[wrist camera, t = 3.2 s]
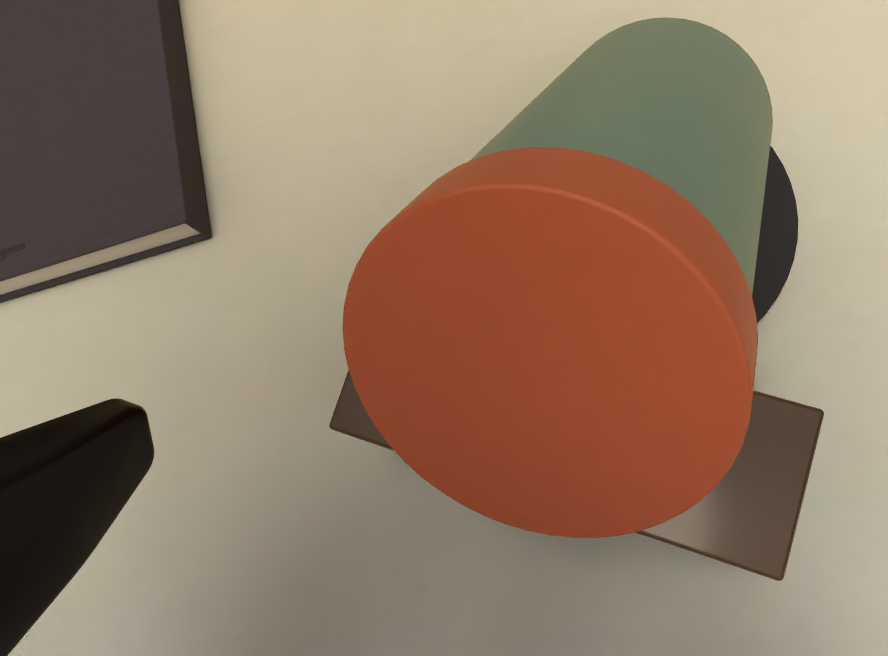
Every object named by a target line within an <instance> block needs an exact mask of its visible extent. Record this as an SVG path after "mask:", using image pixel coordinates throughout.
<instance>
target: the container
mask: <svg viewBox="0 0 888 656" xmlns="http://www.w3.org/2000/svg"><path fill="white" fill-rule="evenodd" d="M772 124H773V122H772V106H771V101H770V96H769V92H768V89H767V86H766V83H765V81H764V79H763V77H762V75H761V73H760V71H759V69H758V67H757V66H756V64H755V63H754V62H753V60H752V59H751V57H750V56H749V55H748V54H747V53H746V52H745V51H744V50H743V49H742V48H741V47H740V46H739V45H738V44H737V43H736V42H735V41H733V40H732V39H731V38H729V37H728V36H727V35H725V34H723V33H721V32H720V31H718V30H716V29H714V28H712V27H709V26H707V25H704V24H701V23H699V22H695V21H690V20H686V19H678V18H652V19H647V20H642V21H637V22H634V23H631V24H628V25H625V26H622V27H620V28H618V29H616V30H614V31H612V32H610V33H608V34H607V35H605V36H604V37H602V38H601V39H599V40H598V41H596V42H595V43H594V44H593V45H592V46H590V47H589V48H588V49H587V50H586V51H585V52H584V53H583V54H582V55H581V56H579V57H578V58H577V59H576V60H575V61H574V62H573V63H572V64H571V65H570V66H569V67H568V68H567V69H566V70H565V71H564V72H563V73H562V74H561V75H559V76H558V77H557V78H556V79H555V80H554V81H553V82H552V83H551V84H550V85H549V86H548V87H547V88H546V89H545V90H544V91H543V92H542V93H541V94H539V95H538V96H537V97H536V98H535V99H534V100H533V101H532V102H531V103H530V104H529V105H528V106H527V107H526V108H525V109H524V110H523V111H522V112H521V113H519V114H518V115H517V116H516V117H515V118H514V119H513V120H512V121H511V122H510V123H509V124H508V125H507V126H506V127H505V128H504V129H503V130H502V131H501V132H499V133H498V134H497V135H496V136H495V137H494V138H493V139H492V140H491V141H490V142H489V143H488V144H487V145H486V146H485V147H484V148H483V149H482V150H481V151H479V152H478V153H477V154H476V155H475V156H474V157H473V158H472V159H471V160H470V161H469V162H467V163H465V164H462V165H460V166H458V167H456V168H454V169H453V170H451V171H449V172H448V173H446V174H445V175H443V176H441V177H440V178H438V179H437V180H436V181H435V182H433V183H432V184H431V185H430V186H429V187H428V188H426V189H425V190H424V191H423V192H422V193H421V194H420V195H418V196H417V197H416V198H415V199H414V200H413V201H412V202H411V203H410V204H409V205H408V206H406V207H405V208H404V209H403V210H402V211H401V212H400V213H399V214H398V215H397V216H396V217H394V218H393V219H392V220H391V221H390V222H389V223H388V224H387V225H386V226H385V227H383V228H382V229H381V231H380V232H379V233H378V234H377V235H376V236H375V238H374V239H373V240H372V241H371V242H370V244H369V245H368V246H367V248H366V249H365V251H364V253H363V254H362V256H361V258H360V260H359V261H358V263H357V265H356V267H355V270H354V272H353V275H352V277H351V280H350V283H349V286H348V290H347V295H346V300H345V304H344V314H343V339H344V350H345V355H346V359H347V364H348V369H349V372H350V375H351V378H352V381H353V383H354V386H355V389H356V391H357V394H358V396H359V398H360V400H361V402H362V404H363V406H364V408H365V410H366V412H367V413H368V415H369V417H370V418H371V420H372V421H373V423H374V425H375V426H376V428H377V429H378V431H379V432H380V433H381V434H382V436H383V437H384V438H385V440H386V441H387V442H388V444H389V445H390V446H391V447H392V448H393V449H394V450H395V452H396V453H397V454H398V455H399V456H400V457H401V458H402V459H403V460H404V461H405V462H406V463H407V464H408V465H409V466H410V467H411V468H412V469H413V470H415V471H416V472H417V473H418V474H419V475H420V476H421V477H422V478H424V479H425V480H426V481H428V482H429V483H430V484H432V485H433V486H434V487H436V488H437V489H438V490H440V491H441V492H443V493H444V494H446V495H447V496H449V497H451V498H452V499H454V500H455V501H457V502H459V503H460V504H462V505H464V506H466V507H468V508H470V509H472V510H474V511H476V512H478V513H480V514H482V515H484V516H487V517H489V518H492V519H494V520H497V521H499V522H502V523H504V524H508V525H511V526H514V527H518V528H521V529H524V530H528V531H533V532H538V533H543V534H547V535H555V536H564V537H577V538H598V537H608V536H618V535H623V534H628V533H633V532H637V531H642V530H645V529H648V528H651V527H653V526H656V525H659V524H662V523H664V522H666V521H668V520H670V519H672V518H674V517H676V516H678V515H680V514H682V513H684V512H685V511H687V510H688V509H690V508H691V507H692V506H694V505H695V504H697V503H698V502H700V501H701V500H702V499H703V498H704V497H705V496H706V495H707V494H708V493H709V492H710V491H711V490H712V489H714V488H715V487H716V486H717V485H718V484H719V483H720V481H721V480H722V479H723V477H724V476H725V475H726V473H727V472H728V470H729V469H730V468H731V466H732V465H733V463H734V461H735V459H736V457H737V455H738V453H739V451H740V449H741V447H742V445H743V443H744V439H745V436H746V432H747V429H748V426H749V422H750V415H751V406H752V397H753V386H754V376H755V366H756V355H757V345H758V335H757V317H756V313H755V308H754V304H753V299H752V293H753V285H754V276H755V268H756V260H757V251H758V243H759V234H760V226H761V218H762V209H763V201H764V193H765V184H766V176H767V168H768V159H769V151H770V143H771V134H772Z"/></svg>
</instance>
